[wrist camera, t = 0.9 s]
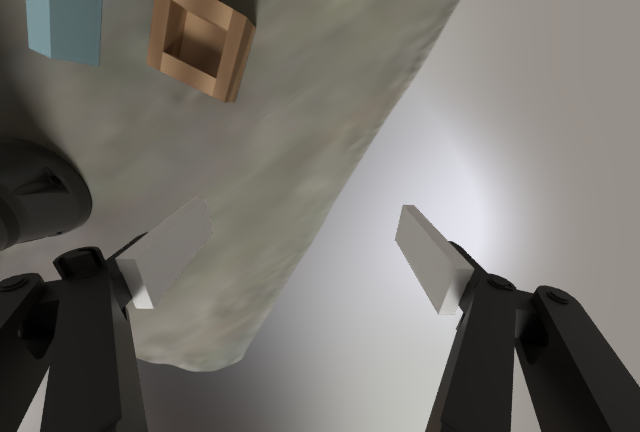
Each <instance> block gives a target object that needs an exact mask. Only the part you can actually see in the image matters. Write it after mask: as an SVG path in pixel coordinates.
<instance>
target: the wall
mask: <svg viewBox="0 0 640 432" xmlns="http://www.w3.org/2000/svg"><path fill="white" fill-rule="evenodd" d="M26 9H27V25H28V41H29V48H30V49H32V50H34V51H37V52H39V53H41V54H43V55H45V56H48V57H50V58H54V59H60V60H66V61H72V62H78V63H84V64H90V65H96V66H99V55H100V34H101V14H102V0H26Z"/></svg>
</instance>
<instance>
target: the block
mask: <svg viewBox="0 0 640 432" xmlns="http://www.w3.org/2000/svg"><path fill="white" fill-rule="evenodd" d="M255 29H256V28H255V26H254V25H253V24H252V23H251V22H250V20H249V19H248V18H247V17H246V16H244V15H242V14H241V13H239V12H237V11H235V10H234V9H232V8H230V7H229V6H227V5H225V4H223V3H222V2H220V1H218V0H154V6H153V15H152V23H151V31H150V39H149V47H148V55H147V63H146V64H147V65H149V66H151V67H153V68H155V69H157V70H159V71H161V72H163V73H165V74H168V75H170V76H172V77H174V78H176V79H178V80H180V81H182V82H184V83H186V84H188V85H190V86H192V87H194V88H196V89H198V90H200V91H202V92H204V93H206V94H208V95H210V96H213V97H215V98H217V99H219V100H221V101H223V102H235V100H236V96H237V92H238V89H239V85H240V82H241V78H242V75H243V71H244V68H245V64H246V61H247V57H248V54H249V50H250V47H251V43H252V40H253V36H254V33H255Z"/></svg>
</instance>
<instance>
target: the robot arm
mask: <svg viewBox="0 0 640 432" xmlns="http://www.w3.org/2000/svg"><path fill="white" fill-rule="evenodd" d="M90 213H91V198H90V195H89V192H88V190H87V187H86V186H85V184H84V182H83V181H82V179H81V178H80V176H79V175H78V174H77V173H76V172H75V171H74V169H73V168H72V167H71V166H69V165H68V164H67V163H66V162H65V161H64V160H62V159H61V158H60V157H58V156H57V155H55V154H54V153H52V152H51V151H49V150H47V149H45V148H43V147H41V146H38V145H36V144H33V143H30V142H26V141H21V140H1V141H0V251H2V250H4V249H6V248H8V247H11V246H13V245H15V244H19V243H24V242H29V241H33V240H38V239H42V238H45V237H51V236H57V235H62V234H65V233H67V232H69V231H71V230H73V229H75V228H77V227H79V226H81V225H82V224H84V223H85V222H86V221H87V219H88V218H89V216H90ZM212 234H213V232H212V227H211V221H210V216H209V210H208V205H207V199H206V197H193V198H192V199H191V200H190V201H188V202H187V203H186V204H184V205H183V206H182V207H181V208H179V209H178V210H177V211H175V212H174V213H173V214H172V215H170V216H169V217H168V218H166V219H165V220H164V221H163V222H161V223H160V224H159V225H157V226H156V227H155V228H154V229H152V230H151V231H150V232H146V233H144V234H142V235H140V236H138V237H136V238H135V239H133V240H132V241H131V242H129V244H127V245H125V246H124V247H123V249H120V250H119V251H117V252H116V253H115V254H113V255H112V256H111V257H109V258H108V259H107V260H105V259H104V257H103V255H102V253H101V250H100V249H99V248H98V247H83V248H78V249H74V250H71V251H68V252H66V253H64V254H62V255H60V256H59V257H57V258H56V259H55V260H54V261H53V264H54V266H55V268H56V269H57V271H58V273H59V275H60V276H61V278H62V280H55V281H49V282H44V280H43V279H42V277H41V276H40V275H39V274H38V273H27V274H21V275H16V276H12V277H10V278H7V279H4V280H2V281H1V282H0V432H17V430H18V428H19V426H20V424H21V422H22V420H23V418H24V416H25V414H26V412H27V410H28V408H29V406H30V404H31V402H32V400H33V398H34V396H35V394H36V392H37V390H38V388H39V386H40V384H41V382H42V380H43V378H44V376H45V374H46V372H47V370H48V368H49V366H50V368H49V375H48V382H47V388H46V395H45V402H44V408H43V415H42V422H41V429H40V432H148V427H147V421H146V416H145V410H144V404H143V397H142V392H141V386H140V380H139V373H138V367H137V362H136V355H135V349H134V343H133V337H132V331H131V325H130V320H129V314H128V310H127V308H126V305H127V304H128V302H129V301H130V300H131V299H132V300H133V302H134V304H135V307H136V308H142V309H154V308H155V306H156V305H157V304H158V303H159V301H160V300H161V299H162V297H163V296H164V295H165V294H166V292H167V291H168V290H169V289H170V287H171V286H172V285H173V283H174V282H175V281H176V280H177V278H178V277H179V276H180V275H181V273H182V272H183V271H184V269H185V268H186V267H187V266H188V264H189V263H190V262H191V261H192V259H193V258H194V257H195V255H196V254H197V253H198V252H199V250H200V249H201V248H202V246H203V245H204V244H205V243H206V241H207V240H208V239H209V238H210V236H211V235H212ZM395 240H396V242H397V243H398V245H399V247H400V249H401V251H402V252H403V254H404V256H405V258H406V259H407V261H408V263H409V265H410V266H411V268H412V270H413V271H414V273H415V275H416V277H417V278H418V280H419V282H420V283H421V285H422V287H423V289H424V291H425V292H426V294H427V296H428V297H429V299H430V301H431V303H432V304H433V306H434V308H435V310H436V311H437V313H438V315H455V312H456V310H457V308H458V306H460V308H461V310H462V311H463V315H462V317H461V319H460V321H459V323H458V326H457V328H456V330H457V332H456V335H455V339H454V342H453V345H452V348H451V351H450V354H449V358H448V361H447V364H446V367H445V370H444V373H443V377H442V380H441V383H440V386H439V389H438V392H437V396H436V399H435V402H434V405H433V408H432V411H431V415H430V418H429V421H428V424H427V427H426V430H425V432H510V431H511V410H512V390H513V368H514V347H515V348H516V351H517V355H518V358H519V361H520V365H521V367H522V371H523V374H524V377H525V381H526V384H527V387H528V390H529V393H530V396H531V400H532V403H533V406H534V409H535V413H536V416H537V419H538V422H539V425H540V429H541V432H640V387H639V386H638V384H637V383H636V381H635V380H634V379H633V377H632V376H631V374H630V373H629V372H628V370H627V369H626V368H625V366H624V365H623V363H622V362H621V360H620V359H619V358H618V356H617V355H616V353H615V352H614V351H613V349H612V348H611V346H610V345H609V344H608V342H607V341H606V339H605V338H604V337H603V335H602V334H601V332H600V331H599V330H598V328H597V327H596V325H595V324H594V322H593V321H592V320H591V318H590V317H589V316H588V314H587V313H586V312H585V310H584V308H583V307H582V306H581V304H580V303H579V302H578V301H577V300H576V299H575V298H574V297H572V296H571V295H569V294H568V293H566V292H565V291H562V290H560V289H557V288H554V287H550V286H539V287H538V288H537V289H536V291H535V292H534V293H529V292H525V291H520V290H517V289H516V287H515V286H514V285H513V284H512V283H511V282H509V281H508V280H507V279H505V278H503V277H500V276H498V275H494V274H488V273H487V272H486V271H485V270H484V269H483V268H482V267H481V266H480V265H479V264H478V263H477V262H475V260H474V259H472V257H471V256H470V255H469V254H467V252H466V251H465V250H464V249H463V248H462V247H461V246H459V245H457V244H456V243H454V242H452V241H447V240H446V239H445V237H443V235H442V234H441V233H440V232H439V231H438V230H437V229H436V228H435V227H434V226H433V225H432V224H431V223H430V222H429V221H428V220H427V219H426V218H425V216H424V215H423V214H422V213H421V212H420V211H419V210H418V209H417V208H416V207H415V206H414V205H403V207H402V211H401V216H400V220H399V224H398V229H397V233H396V237H395Z"/></svg>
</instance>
